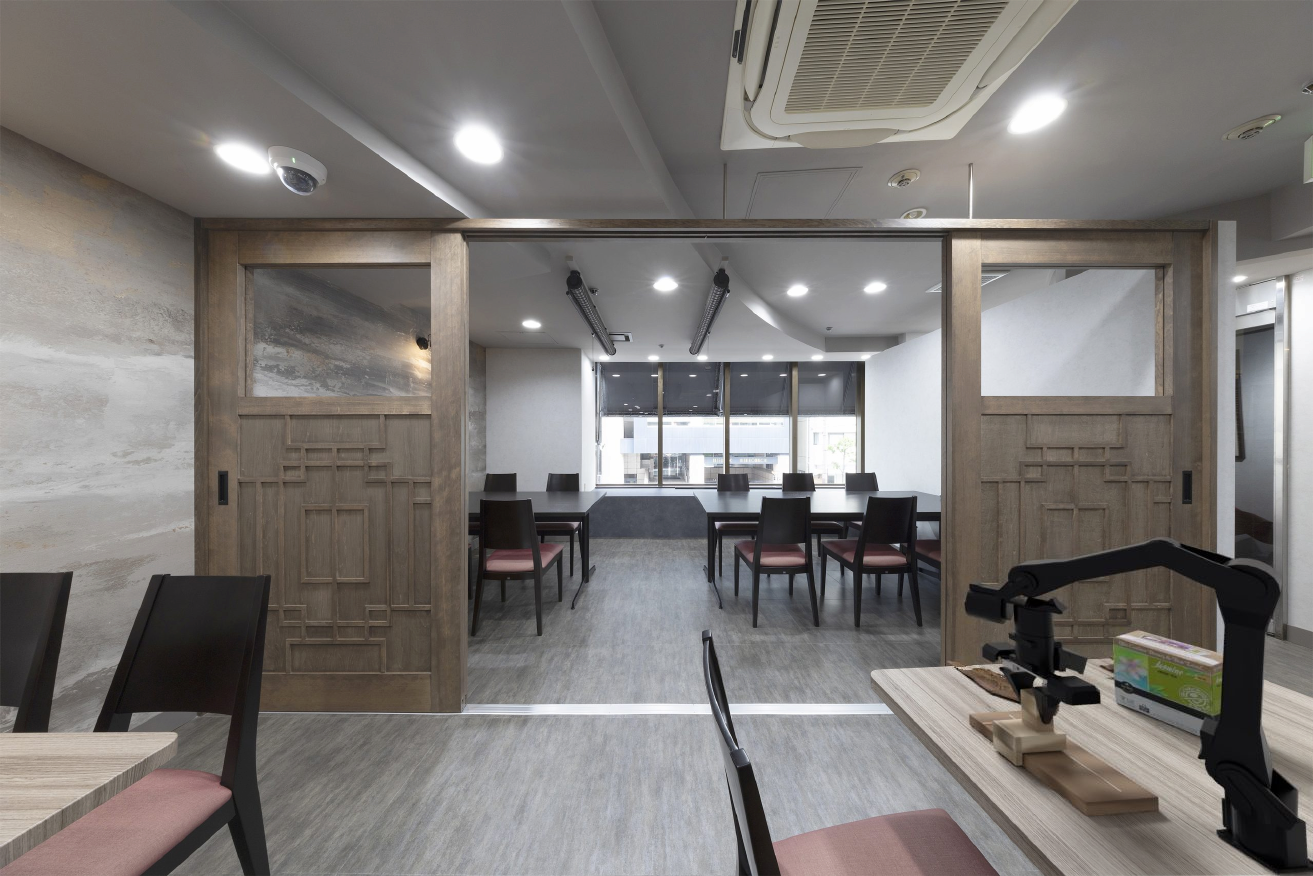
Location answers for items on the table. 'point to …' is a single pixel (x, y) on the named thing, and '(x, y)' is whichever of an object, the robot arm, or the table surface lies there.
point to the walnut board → (1077, 775)
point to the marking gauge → (1026, 732)
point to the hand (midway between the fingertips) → (1037, 718)
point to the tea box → (1167, 679)
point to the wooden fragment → (990, 680)
